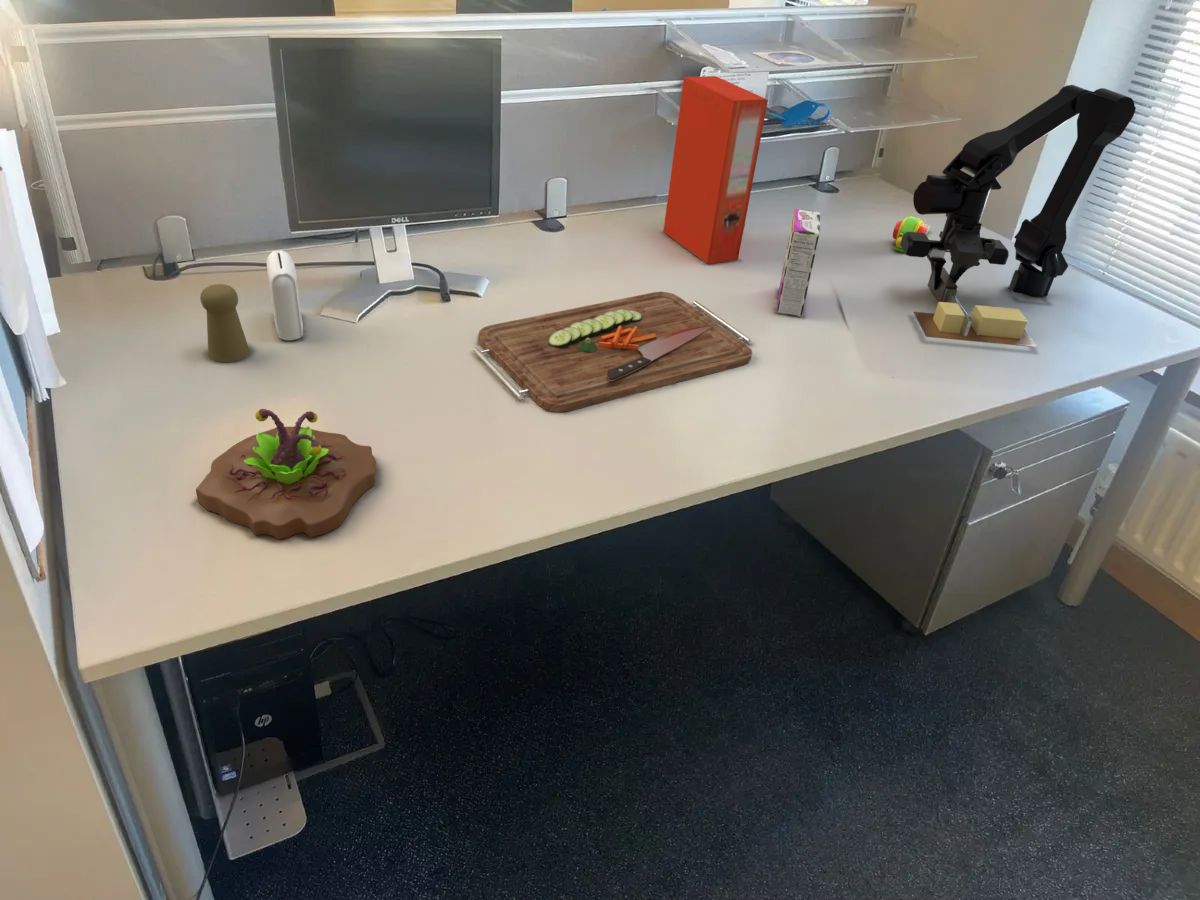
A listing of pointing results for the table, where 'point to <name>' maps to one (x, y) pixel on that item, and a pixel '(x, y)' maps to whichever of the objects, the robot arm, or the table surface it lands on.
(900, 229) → the toy measuring tape
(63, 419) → the table surface
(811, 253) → the candy bar box
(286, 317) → the photo printer
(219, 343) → the olive brown pawn
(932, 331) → the butter board
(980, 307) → the butter block
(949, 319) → the butter slice
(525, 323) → the chopping board
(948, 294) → the knife
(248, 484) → the plant
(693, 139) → the file binder
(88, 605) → the table surface
